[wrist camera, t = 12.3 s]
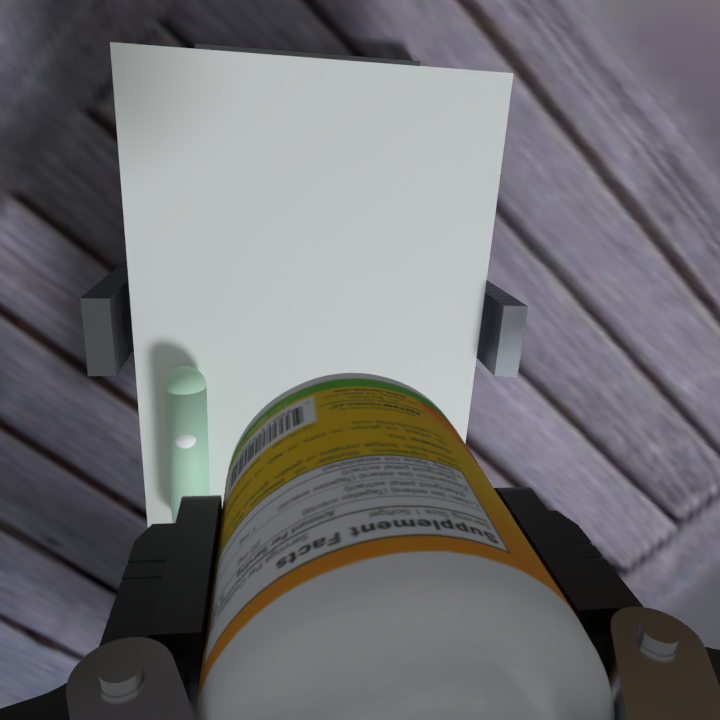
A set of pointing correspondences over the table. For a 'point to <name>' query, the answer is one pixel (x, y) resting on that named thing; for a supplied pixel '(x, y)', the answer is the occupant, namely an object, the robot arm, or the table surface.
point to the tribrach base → (113, 311)
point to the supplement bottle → (381, 575)
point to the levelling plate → (296, 238)
